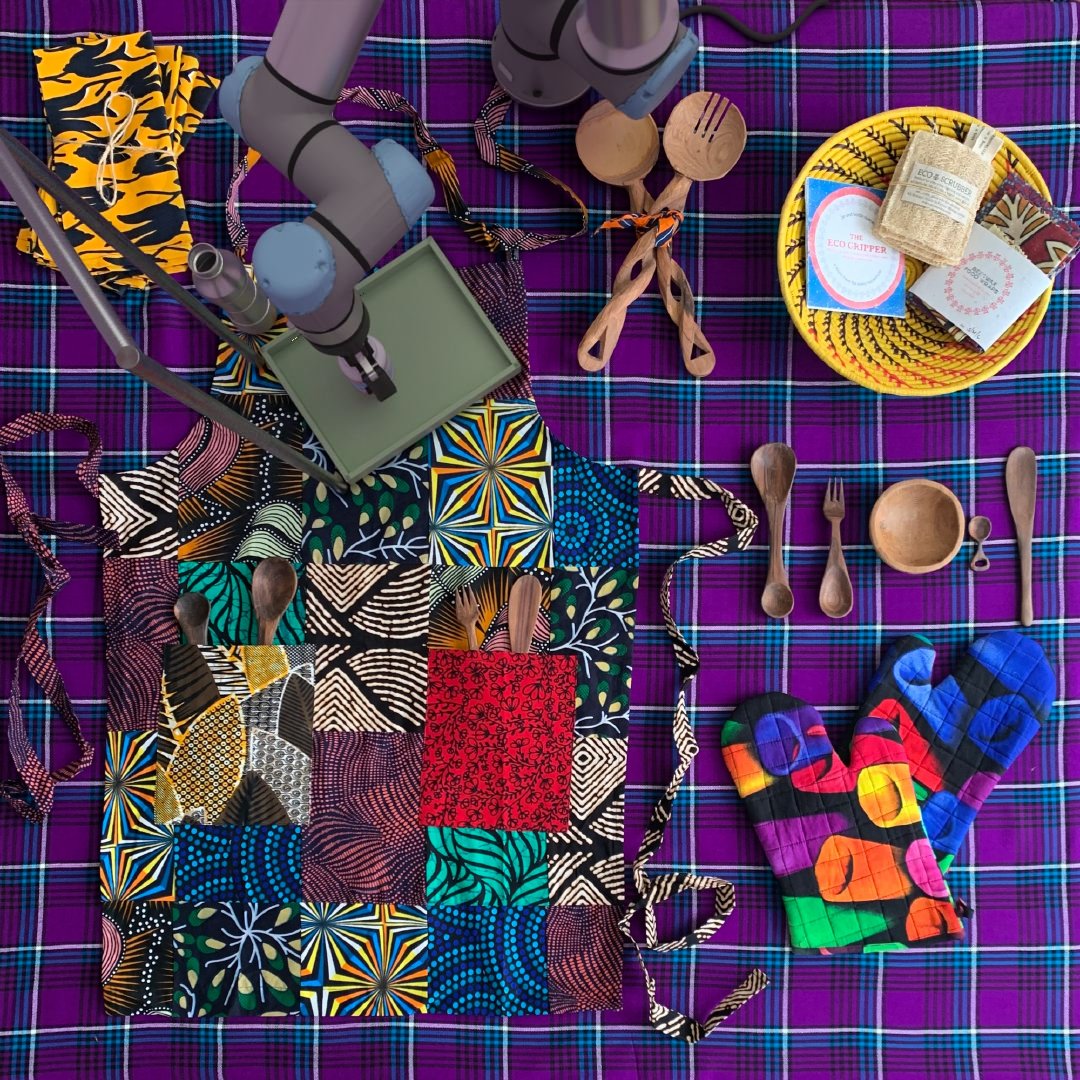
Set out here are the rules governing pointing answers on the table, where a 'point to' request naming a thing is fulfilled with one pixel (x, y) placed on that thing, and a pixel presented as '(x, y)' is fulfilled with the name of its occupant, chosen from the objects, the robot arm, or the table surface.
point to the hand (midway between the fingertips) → (372, 369)
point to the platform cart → (302, 340)
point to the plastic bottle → (231, 288)
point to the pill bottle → (378, 355)
